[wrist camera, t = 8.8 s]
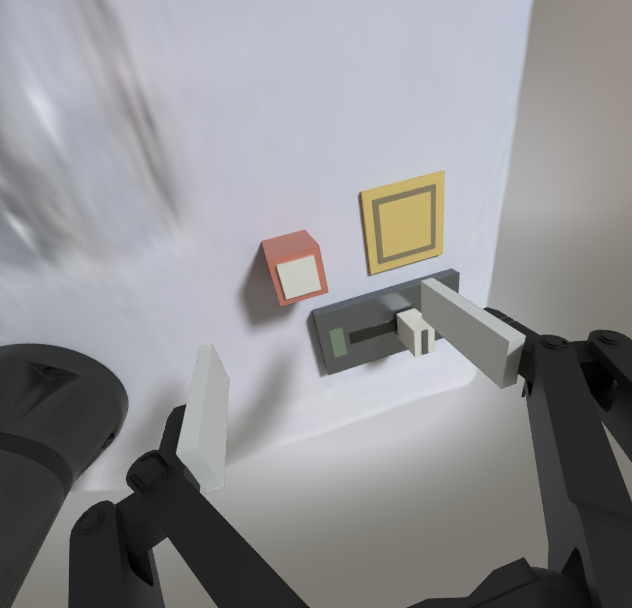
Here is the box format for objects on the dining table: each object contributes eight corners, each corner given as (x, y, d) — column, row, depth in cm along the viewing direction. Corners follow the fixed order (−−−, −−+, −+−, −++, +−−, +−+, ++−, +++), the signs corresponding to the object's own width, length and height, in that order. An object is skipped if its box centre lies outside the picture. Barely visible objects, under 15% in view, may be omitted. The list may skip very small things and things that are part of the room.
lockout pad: (369, 273, 33) (371, 274, 32) (360, 191, 29) (362, 192, 28) (440, 252, 34) (443, 253, 33) (442, 170, 29) (445, 171, 29)
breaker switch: (398, 337, 36) (416, 358, 32) (396, 313, 34) (415, 332, 30) (415, 332, 36) (435, 351, 32) (414, 308, 34) (435, 326, 31)
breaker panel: (325, 367, 38) (329, 375, 36) (311, 310, 33) (315, 316, 32) (449, 327, 40) (456, 333, 38) (451, 268, 35) (460, 273, 34)
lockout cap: (273, 281, 31) (281, 308, 25) (261, 241, 29) (266, 260, 23) (313, 269, 31) (329, 293, 26) (304, 229, 29) (319, 246, 24)
